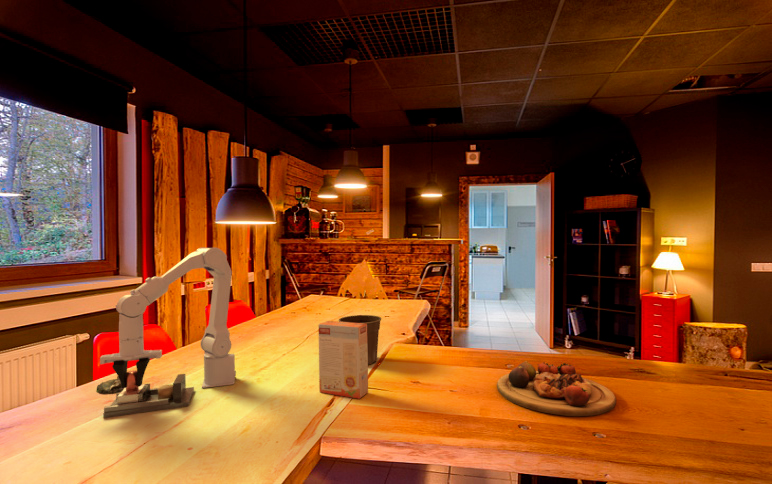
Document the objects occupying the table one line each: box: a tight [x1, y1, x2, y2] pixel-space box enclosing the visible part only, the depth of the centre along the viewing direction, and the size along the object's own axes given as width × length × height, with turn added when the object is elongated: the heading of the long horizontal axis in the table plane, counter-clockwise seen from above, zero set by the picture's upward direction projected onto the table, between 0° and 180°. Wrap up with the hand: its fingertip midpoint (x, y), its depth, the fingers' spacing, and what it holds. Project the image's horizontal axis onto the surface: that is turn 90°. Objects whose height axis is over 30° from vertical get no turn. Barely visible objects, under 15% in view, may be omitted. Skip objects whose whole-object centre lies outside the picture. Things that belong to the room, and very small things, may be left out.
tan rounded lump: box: [157, 384, 173, 400], centre depth 112 cm, size 4×4×3 cm
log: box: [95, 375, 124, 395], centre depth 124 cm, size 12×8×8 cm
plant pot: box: [338, 314, 382, 365], centre depth 148 cm, size 16×16×16 cm
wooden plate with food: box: [496, 360, 617, 417], centre depth 114 cm, size 32×32×8 cm
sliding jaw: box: [117, 369, 151, 405], centre depth 110 cm, size 6×8×8 cm
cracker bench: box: [102, 373, 195, 419], centre depth 111 cm, size 20×12×6 cm, turn 109°
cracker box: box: [318, 320, 369, 400], centre depth 117 cm, size 14×6×21 cm, turn 65°
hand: (132, 386), depth 109 cm, fingers closed on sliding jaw, 3 cm apart
